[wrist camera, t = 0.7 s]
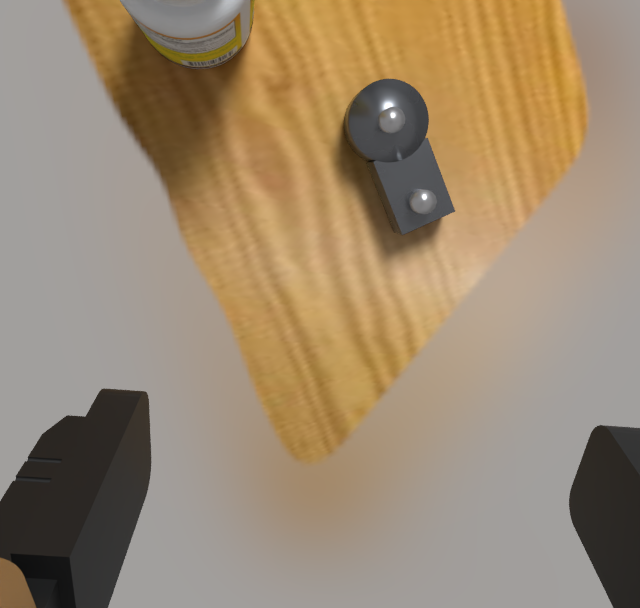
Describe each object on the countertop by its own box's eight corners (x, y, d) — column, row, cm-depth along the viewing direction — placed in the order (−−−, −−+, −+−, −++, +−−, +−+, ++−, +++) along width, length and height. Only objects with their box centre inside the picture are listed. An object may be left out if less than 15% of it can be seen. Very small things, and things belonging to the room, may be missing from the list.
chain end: (331, 103, 32) (339, 96, 29) (402, 72, 32) (415, 62, 29) (385, 236, 33) (397, 240, 31) (452, 206, 34) (469, 207, 31)
